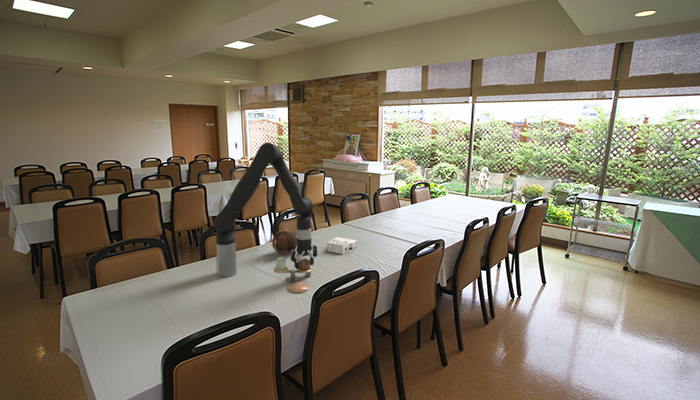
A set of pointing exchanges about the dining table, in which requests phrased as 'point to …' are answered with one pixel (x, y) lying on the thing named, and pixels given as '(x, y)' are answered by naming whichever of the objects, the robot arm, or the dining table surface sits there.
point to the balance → (293, 274)
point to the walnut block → (304, 264)
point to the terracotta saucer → (298, 287)
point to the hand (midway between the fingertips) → (304, 266)
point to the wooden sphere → (284, 242)
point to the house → (341, 245)
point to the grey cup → (280, 264)
